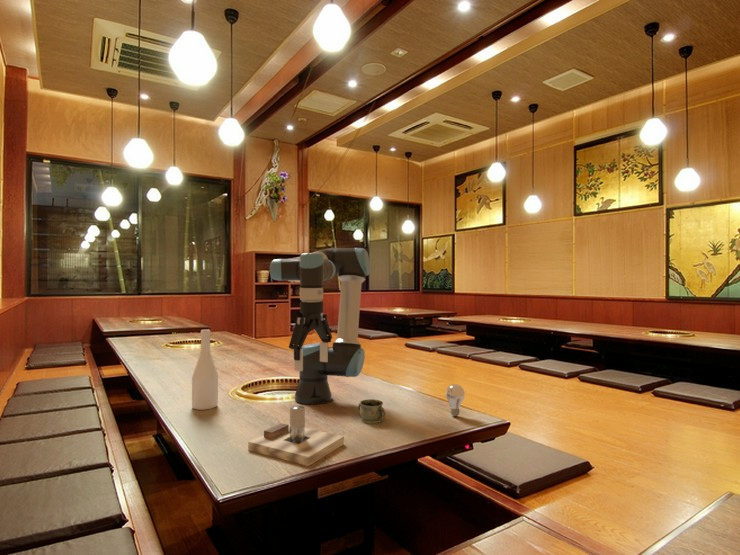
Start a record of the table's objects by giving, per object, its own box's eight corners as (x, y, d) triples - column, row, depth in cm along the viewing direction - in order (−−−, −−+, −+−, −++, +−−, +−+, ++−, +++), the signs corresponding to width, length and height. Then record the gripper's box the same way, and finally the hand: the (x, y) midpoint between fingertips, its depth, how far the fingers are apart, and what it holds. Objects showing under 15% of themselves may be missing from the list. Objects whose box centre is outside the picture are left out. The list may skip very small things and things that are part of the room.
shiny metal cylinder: (286, 448, 133) (286, 408, 133) (295, 443, 137) (296, 404, 137) (298, 451, 131) (298, 410, 131) (307, 446, 135) (307, 406, 135)
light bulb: (453, 420, 161) (453, 387, 161) (441, 415, 167) (442, 383, 167) (468, 417, 164) (468, 385, 164) (456, 412, 170) (456, 381, 170)
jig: (248, 450, 132) (248, 434, 132) (287, 431, 148) (287, 418, 148) (308, 466, 121) (308, 449, 121) (343, 444, 137) (343, 429, 137)
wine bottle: (187, 406, 173) (188, 329, 173) (210, 401, 180) (211, 327, 180) (198, 412, 167) (199, 332, 167) (222, 406, 174) (223, 330, 174)
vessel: (350, 419, 161) (350, 402, 161) (365, 413, 168) (365, 396, 168) (377, 426, 154) (378, 408, 154) (391, 420, 161) (392, 402, 161)
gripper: (296, 304, 131) (296, 375, 132) (342, 298, 153) (342, 359, 154) (277, 303, 135) (277, 372, 136) (324, 297, 157) (324, 357, 158)
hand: (311, 365), depth 145 cm, fingers open, 13 cm apart
